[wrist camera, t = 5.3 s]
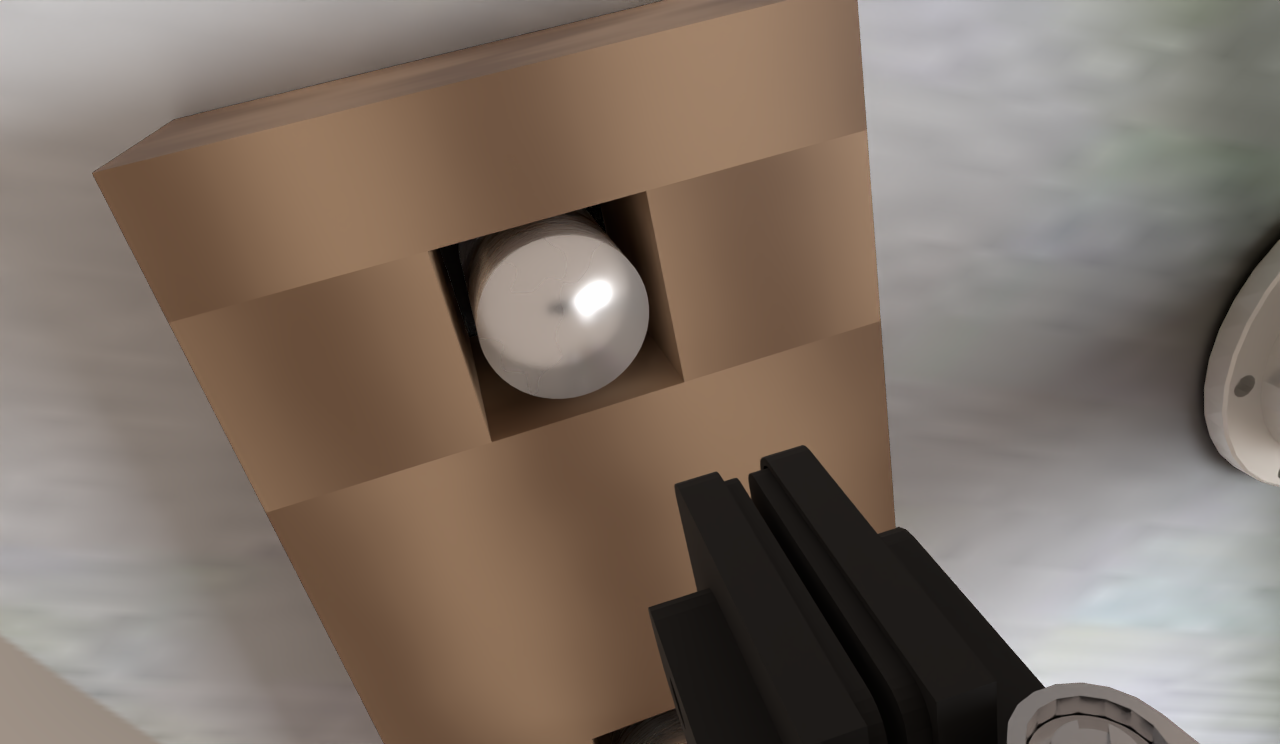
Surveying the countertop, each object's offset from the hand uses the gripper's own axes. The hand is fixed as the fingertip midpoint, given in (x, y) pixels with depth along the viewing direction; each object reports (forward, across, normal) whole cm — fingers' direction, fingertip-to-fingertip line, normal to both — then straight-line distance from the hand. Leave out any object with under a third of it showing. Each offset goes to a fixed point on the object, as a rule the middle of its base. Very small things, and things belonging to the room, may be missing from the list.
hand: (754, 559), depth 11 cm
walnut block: (+14, +1, +6) cm, 16 cm away
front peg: (+14, +1, -1) cm, 14 cm away
